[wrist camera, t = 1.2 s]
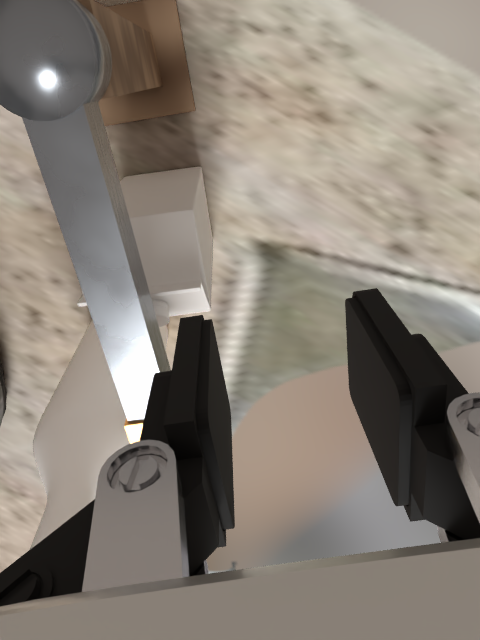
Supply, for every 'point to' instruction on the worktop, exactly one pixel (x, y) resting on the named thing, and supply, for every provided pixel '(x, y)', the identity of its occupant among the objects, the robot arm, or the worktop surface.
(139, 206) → the milk carton
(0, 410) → the pressure cooker
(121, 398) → the arm
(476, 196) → the worktop surface
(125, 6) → the gate post
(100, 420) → the bottle
